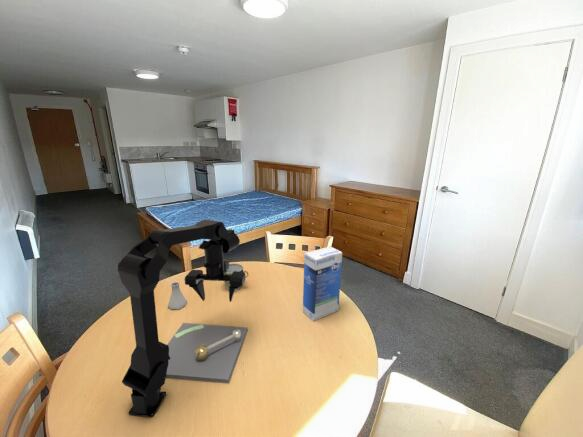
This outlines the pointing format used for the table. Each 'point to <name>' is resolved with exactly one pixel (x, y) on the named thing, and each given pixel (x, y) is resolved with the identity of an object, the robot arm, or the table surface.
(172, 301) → the flask
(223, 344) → the lever
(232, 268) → the ceramic cup
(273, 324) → the table surface
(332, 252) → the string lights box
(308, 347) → the table surface
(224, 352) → the dial board
